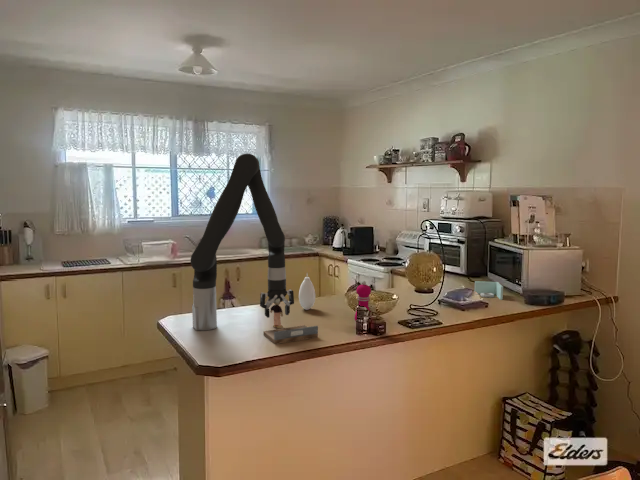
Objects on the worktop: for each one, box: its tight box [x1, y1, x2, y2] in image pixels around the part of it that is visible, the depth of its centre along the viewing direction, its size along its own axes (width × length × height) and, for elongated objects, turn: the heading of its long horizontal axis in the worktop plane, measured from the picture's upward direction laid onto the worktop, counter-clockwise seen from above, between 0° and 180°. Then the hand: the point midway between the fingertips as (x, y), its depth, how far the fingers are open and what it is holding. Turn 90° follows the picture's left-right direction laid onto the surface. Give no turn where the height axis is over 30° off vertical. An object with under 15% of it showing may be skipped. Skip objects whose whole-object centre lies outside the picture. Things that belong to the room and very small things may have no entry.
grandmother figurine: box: [269, 298, 284, 329], centre depth 202 cm, size 8×4×13 cm, turn 58°
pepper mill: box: [354, 280, 372, 322], centre depth 200 cm, size 7×7×20 cm
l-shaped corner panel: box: [474, 280, 504, 301], centre depth 257 cm, size 12×12×8 cm
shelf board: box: [262, 324, 319, 345], centre depth 190 cm, size 18×12×2 cm, turn 117°
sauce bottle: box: [298, 273, 316, 311], centre depth 229 cm, size 8×8×18 cm
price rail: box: [274, 325, 319, 340], centre depth 185 cm, size 18×1×3 cm, turn 117°
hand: (277, 315), depth 202 cm, fingers open, 8 cm apart
